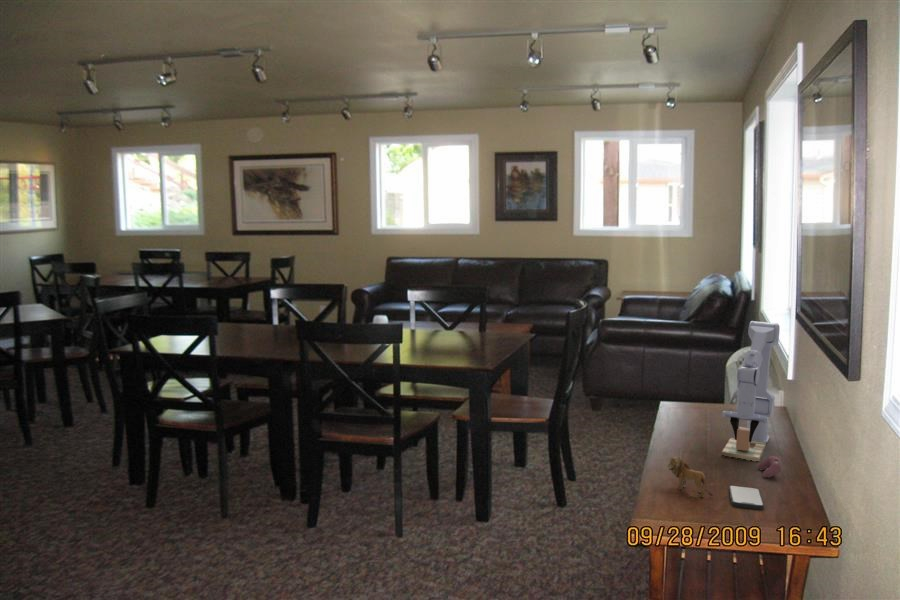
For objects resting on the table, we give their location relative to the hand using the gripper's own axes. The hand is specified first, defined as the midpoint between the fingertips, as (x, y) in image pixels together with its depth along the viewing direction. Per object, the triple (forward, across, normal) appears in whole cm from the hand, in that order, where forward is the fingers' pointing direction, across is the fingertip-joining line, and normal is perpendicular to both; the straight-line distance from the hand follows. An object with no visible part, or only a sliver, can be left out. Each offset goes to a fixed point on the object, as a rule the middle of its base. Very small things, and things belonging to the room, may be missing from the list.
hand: (743, 440), depth 281 cm
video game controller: (+6, +10, -16) cm, 20 cm away
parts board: (+5, 0, +5) cm, 7 cm away
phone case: (+6, +7, -45) cm, 46 cm away
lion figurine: (+6, -9, -47) cm, 48 cm away
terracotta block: (+3, 0, 0) cm, 3 cm away
